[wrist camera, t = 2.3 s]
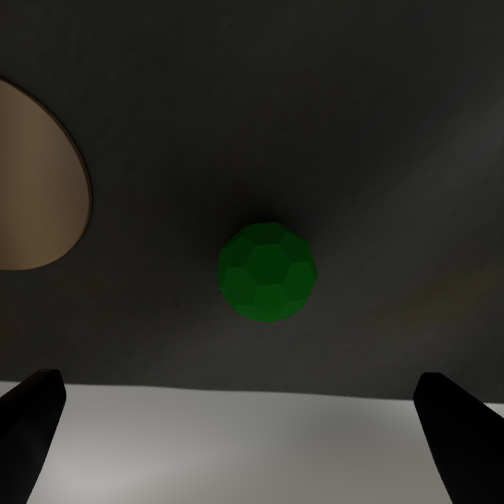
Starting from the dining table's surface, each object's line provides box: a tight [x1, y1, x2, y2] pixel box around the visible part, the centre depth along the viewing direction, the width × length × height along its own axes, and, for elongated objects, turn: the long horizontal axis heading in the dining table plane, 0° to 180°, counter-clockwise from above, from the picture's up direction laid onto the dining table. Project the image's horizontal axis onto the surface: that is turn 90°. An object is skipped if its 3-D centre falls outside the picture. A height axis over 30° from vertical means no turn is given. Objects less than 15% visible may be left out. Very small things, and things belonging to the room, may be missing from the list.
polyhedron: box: [217, 222, 317, 322], centre depth 16 cm, size 5×5×5 cm
